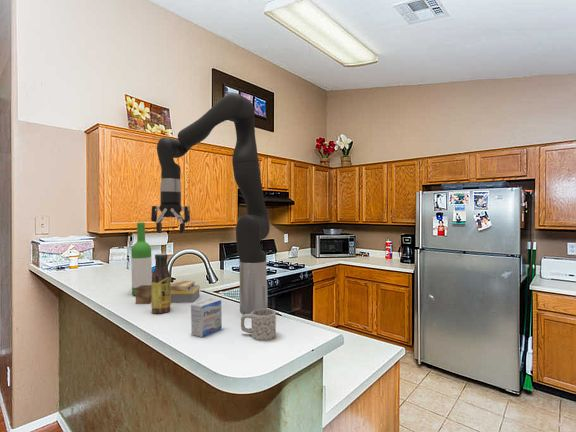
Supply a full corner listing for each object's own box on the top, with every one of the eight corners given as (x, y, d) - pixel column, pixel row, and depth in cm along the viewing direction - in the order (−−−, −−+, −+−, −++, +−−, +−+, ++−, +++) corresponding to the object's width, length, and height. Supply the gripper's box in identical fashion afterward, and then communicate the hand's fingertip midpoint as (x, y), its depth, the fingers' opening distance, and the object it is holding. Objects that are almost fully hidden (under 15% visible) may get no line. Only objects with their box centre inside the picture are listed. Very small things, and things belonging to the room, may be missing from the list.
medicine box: (202, 338, 93) (201, 306, 93) (190, 334, 96) (190, 304, 96) (222, 329, 100) (221, 299, 100) (211, 326, 102) (210, 297, 102)
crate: (154, 300, 133) (154, 285, 133) (148, 304, 128) (148, 288, 128) (141, 300, 133) (141, 285, 133) (135, 304, 128) (135, 288, 128)
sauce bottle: (164, 314, 114) (163, 255, 114) (147, 313, 116) (146, 255, 115) (174, 309, 121) (173, 253, 120) (158, 308, 122) (157, 252, 122)
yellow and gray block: (199, 296, 139) (199, 285, 139) (193, 302, 129) (193, 290, 129) (170, 296, 139) (169, 285, 139) (161, 302, 130) (161, 290, 130)
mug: (278, 332, 97) (278, 309, 97) (272, 341, 90) (271, 316, 90) (245, 330, 99) (244, 307, 99) (236, 338, 93) (236, 314, 92)
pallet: (194, 284, 139) (194, 280, 139) (187, 290, 129) (186, 286, 129) (175, 285, 139) (175, 280, 139) (166, 290, 129) (165, 286, 129)
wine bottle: (152, 291, 149) (151, 222, 148) (151, 295, 141) (150, 222, 141) (133, 292, 146) (131, 222, 146) (130, 296, 139) (129, 223, 138)
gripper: (192, 191, 135) (191, 232, 135) (156, 191, 135) (156, 232, 136) (185, 190, 127) (185, 234, 128) (148, 190, 128) (148, 233, 128)
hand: (170, 233), depth 132 cm, fingers open, 8 cm apart
